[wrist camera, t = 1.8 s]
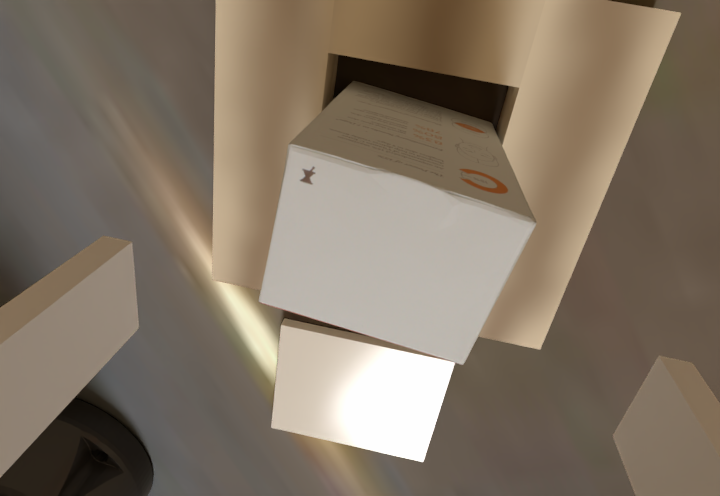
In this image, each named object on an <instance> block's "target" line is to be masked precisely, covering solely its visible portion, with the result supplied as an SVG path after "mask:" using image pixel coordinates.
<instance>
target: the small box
mask: <svg viewBox="0 0 720 496" xmlns="http://www.w3.org/2000/svg"><path fill="white" fill-rule="evenodd" d="M535 226H536V219H535V217H534V215H533V213H532V211H531V209H530V207H529V205H528V203H527V201H526V198H525V196H524V194H523V192H522V189H521V187H520V185H519V182H518V180H517V178H516V176H515V173H514V171H513V169H512V167H511V165H510V162H509V160H508V158H507V156H506V153H505V151H504V149H503V147H502V144H501V142H500V140H499V138H498V136H497V133H496V131H495V129H494V127H493V124H492V123H491V122H488V121H485V120H482V119H479V118H476V117H472V116H469V115H466V114H463V113H460V112H457V111H454V110H450V109H447V108H444V107H441V106H437V105H434V104H431V103H428V102H424V101H421V100H418V99H414V98H411V97H408V96H405V95H401V94H398V93H395V92H391V91H388V90H385V89H382V88H378V87H375V86H371V85H368V84H364V83H361V82H357V81H352V82H351V83H350V84H349V85H348V86H347V87H346V88H345V89H344V90H343V91H342V92H341V93H340V94H339V95H338V96H337V97H336V98H335V99H334V100H333V101H332V102H331V103H330V104H329V105H328V106H327V107H326V108H325V109H324V110H323V111H322V112H321V113H320V114H319V115H318V116H317V117H316V118H315V119H314V120H313V121H312V122H311V123H310V124H309V125H308V126H306V127H305V128H304V129H303V130H302V131H301V132H300V133H299V134H298V135H297V136H296V137H295V138H294V139H293V140H292V141H291V142H290V143H289V144H288V149H287V155H286V162H285V168H284V173H283V179H282V184H281V189H280V195H279V200H278V205H277V211H276V216H275V222H274V227H273V232H272V238H271V243H270V248H269V254H268V258H267V263H266V268H265V273H264V277H263V283H262V288H261V292H260V297H259V302H260V303H262V304H265V305H269V306H272V307H276V308H279V309H282V310H285V311H289V312H292V313H295V314H298V315H302V316H305V317H308V318H312V319H315V320H318V321H321V322H324V323H328V324H331V325H334V326H338V327H341V328H344V329H348V330H351V331H354V332H357V333H361V334H364V335H367V336H370V337H373V338H377V339H380V340H383V341H387V342H390V343H393V344H396V345H400V346H403V347H406V348H409V349H413V350H416V351H419V352H422V353H425V354H429V355H432V356H435V357H438V358H442V359H445V360H448V361H451V362H455V363H458V364H460V365H463V364H464V363H465V361H466V359H467V357H468V355H469V353H470V351H471V349H472V347H473V345H474V343H475V341H476V339H477V337H478V335H479V334H480V332H481V330H482V328H483V326H484V324H485V322H486V320H487V318H488V316H489V314H490V312H491V310H492V309H493V307H494V305H495V303H496V301H497V299H498V297H499V295H500V293H501V291H502V289H503V287H504V285H505V283H506V281H507V280H508V278H509V276H510V274H511V272H512V270H513V268H514V266H515V264H516V262H517V260H518V258H519V257H520V255H521V253H522V251H523V249H524V247H525V245H526V243H527V241H528V239H529V237H530V235H531V234H532V232H533V230H534V228H535Z"/></svg>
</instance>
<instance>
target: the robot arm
mask: <svg viewBox="0 0 720 496" xmlns="http://www.w3.org/2000/svg"><path fill="white" fill-rule="evenodd" d="M138 328H139V322H138V310H137V297H136V284H135V272H134V259H133V247H132V242H130V241H126V240H121V239H117V238H112V237H107V236H102V237H101V238H100V239H98V240H97V241H95V242H94V243H92V244H91V245H90V246H88V247H87V248H85V249H84V250H82V251H81V252H79V253H78V254H77V255H75V256H74V257H72V258H71V259H69V260H68V261H67V262H65V263H64V264H62V265H61V266H59V267H58V268H57V269H55V270H54V271H52V272H51V273H49V274H48V275H46V276H45V277H44V278H42V279H41V280H39V281H38V282H36V283H35V284H34V285H32V286H31V287H29V288H28V289H26V290H25V291H23V292H22V293H21V294H19V295H18V296H16V297H15V298H13V299H12V300H11V301H9V302H8V303H6V304H5V305H3V306H2V307H1V308H0V496H147V495H148V494H149V492H150V490H151V487H152V483H153V471H152V466H151V463H150V460H149V458H148V456H147V454H146V452H145V450H144V449H143V447H142V446H141V444H140V443H139V442H138V441H137V439H136V438H135V437H134V436H133V435H132V434H131V433H130V432H129V431H128V430H127V429H126V428H125V427H124V426H123V425H122V424H120V423H119V422H118V421H117V420H115V419H114V418H113V417H111V416H110V415H108V414H107V413H105V412H103V411H102V410H100V409H98V408H96V407H94V406H92V405H90V404H88V403H86V402H83V401H81V400H78V399H75V396H76V395H77V394H78V393H79V392H80V391H81V390H82V389H83V388H84V387H85V386H86V385H87V384H88V382H89V381H90V380H91V379H92V378H93V377H94V376H95V375H96V374H97V373H98V372H99V371H100V370H101V368H102V367H103V366H104V365H105V364H106V363H107V362H108V361H109V360H110V359H111V358H112V357H113V355H114V354H115V353H116V352H117V351H118V350H119V349H120V348H121V347H122V346H123V345H124V344H125V343H126V341H127V340H128V339H129V338H130V337H131V336H132V335H133V334H134V333H135V332H136V331H137V330H138ZM613 438H614V441H615V443H616V446H617V449H618V451H619V454H620V456H621V459H622V462H623V464H624V467H625V469H626V472H627V475H628V477H629V480H630V482H631V485H632V488H633V490H634V493H635V496H720V403H719V402H718V400H717V399H716V397H715V396H714V394H713V393H712V391H711V390H710V388H709V387H708V385H707V384H706V383H705V381H704V380H703V378H702V377H701V375H700V374H699V372H698V371H697V369H696V368H695V366H694V365H693V363H691V362H686V361H682V360H677V359H673V358H668V357H663V356H658V358H657V360H656V361H655V363H654V365H653V367H652V368H651V370H650V372H649V374H648V375H647V377H646V379H645V381H644V382H643V384H642V386H641V387H640V389H639V391H638V393H637V394H636V396H635V398H634V400H633V401H632V403H631V405H630V407H629V408H628V410H627V412H626V413H625V415H624V417H623V419H622V420H621V422H620V424H619V426H618V427H617V429H616V431H615V432H614V434H613Z"/></svg>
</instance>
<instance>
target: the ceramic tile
mask: <svg viewBox="0 0 720 496" xmlns="http://www.w3.org/2000/svg"><path fill="white" fill-rule="evenodd" d="M454 364H455V362H451V361H448V360H445V359H442V358H438V357H435V356H432V355H429V354H425V353H422V352H419V351H416V350H413V349H409V348H406V347H403V346H400V345H396V344H393V343H390V342H387V341H383V340H380V339H377V338H373V337H369V336H365V335H360V334H356V333H351V332H346V331H342V330H337V329H332V328H328V327H323V326H318V325H314V324H309V323H304V322H300V321H295V320H290V319H286V318H284V320H283V322H282V324H281V331H280V342H279V352H278V363H277V373H276V383H275V394H274V404H273V414H272V425H271V428H276V429H280V430H284V431H289V432H293V433H298V434H302V435H306V436H311V437H315V438H320V439H324V440H328V441H333V442H337V443H341V444H346V445H350V446H355V447H359V448H363V449H368V450H372V451H377V452H381V453H385V454H390V455H394V456H398V457H403V458H407V459H412V460H416V461H420V462H423V461H424V458H425V455H426V452H427V449H428V445H429V442H430V439H431V436H432V433H433V430H434V427H435V423H436V420H437V417H438V414H439V411H440V408H441V405H442V402H443V398H444V395H445V392H446V389H447V386H448V383H449V380H450V376H451V373H452V370H453V367H454Z"/></svg>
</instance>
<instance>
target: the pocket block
mask: <svg viewBox="0 0 720 496" xmlns="http://www.w3.org/2000/svg"><path fill="white" fill-rule="evenodd" d="M680 15H681V13H679V12H673V11H667V10H661V9H655V8H650V7H644V6H638V5H632V4H626V3H620V2H615V1H609V0H216V29H215V106H214V183H213V259H212V280H215V281H219V282H224V283H229V284H234V285H238V286H243V287H248V288H252V289H257V290H261V288H262V283H263V277H264V273H265V268H266V263H267V258H268V254H269V248H270V243H271V238H272V232H273V227H274V222H275V216H276V211H277V205H278V200H279V195H280V189H281V184H282V179H283V173H284V168H285V162H286V155H287V149H288V144H289V143H290V142H291V141H292V140H293V139H294V138H295V137H296V136H297V135H298V134H299V133H300V132H301V131H302V130H303V129H304V128H305V127H306V126H308V125H309V124H310V123H311V122H312V121H313V120H314V119H315V118H316V117H317V116H318V115H319V114H320V113H321V112H322V111H323V110H324V109H325V108H326V107H327V106H328V105H329V104H330V103H331V102H332V101H333V97H334V89H335V81H336V73H337V65H338V57H339V55H343V56H349V57H354V58H360V59H365V60H371V61H376V62H382V63H387V64H393V65H398V66H403V67H409V68H414V69H420V70H425V71H431V72H436V73H442V74H447V75H453V76H458V77H464V78H469V79H475V80H480V81H485V82H491V83H496V84H502V85H507V86H509V87H508V90H507V94H506V97H505V101H504V104H503V108H502V111H501V115H500V118H499V122H498V125H497V129H496V133H497V136H498V138H499V140H500V142H501V144H502V147H503V149H504V151H505V153H506V156H507V158H508V160H509V162H510V165H511V167H512V169H513V171H514V173H515V176H516V178H517V180H518V182H519V185H520V187H521V189H522V192H523V194H524V196H525V198H526V201H527V203H528V205H529V207H530V209H531V211H532V213H533V215H534V217H535V219H536V226H535V228H534V230H533V232H532V234H531V235H530V237H529V239H528V241H527V243H526V245H525V247H524V249H523V251H522V253H521V255H520V257H519V258H518V260H517V262H516V264H515V266H514V268H513V270H512V272H511V274H510V276H509V278H508V280H507V281H506V283H505V285H504V287H503V289H502V291H501V293H500V295H499V297H498V299H497V301H496V303H495V305H494V307H493V309H492V310H491V312H490V314H489V316H488V318H487V320H486V322H485V324H484V326H483V328H482V330H481V332H480V334H479V335H478V336H479V337H483V338H488V339H493V340H497V341H502V342H507V343H512V344H516V345H521V346H526V347H530V348H535V349H541V346H542V344H543V342H544V339H545V337H546V334H547V332H548V330H549V327H550V325H551V323H552V320H553V318H554V315H555V313H556V311H557V308H558V306H559V303H560V301H561V299H562V296H563V294H564V292H565V289H566V287H567V284H568V282H569V280H570V277H571V275H572V272H573V270H574V268H575V265H576V263H577V261H578V258H579V256H580V253H581V251H582V249H583V246H584V244H585V241H586V239H587V237H588V234H589V232H590V230H591V227H592V225H593V222H594V220H595V218H596V215H597V213H598V210H599V208H600V206H601V203H602V201H603V198H604V196H605V194H606V191H607V189H608V187H609V184H610V182H611V179H612V177H613V175H614V172H615V170H616V167H617V165H618V163H619V160H620V158H621V156H622V153H623V151H624V148H625V146H626V144H627V141H628V139H629V136H630V134H631V132H632V129H633V127H634V125H635V122H636V120H637V117H638V115H639V113H640V110H641V108H642V105H643V103H644V101H645V98H646V96H647V94H648V91H649V89H650V86H651V84H652V82H653V79H654V77H655V74H656V72H657V70H658V67H659V65H660V63H661V60H662V58H663V55H664V53H665V51H666V48H667V46H668V43H669V41H670V39H671V36H672V34H673V31H674V29H675V27H676V24H677V22H678V20H679V17H680Z"/></svg>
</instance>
